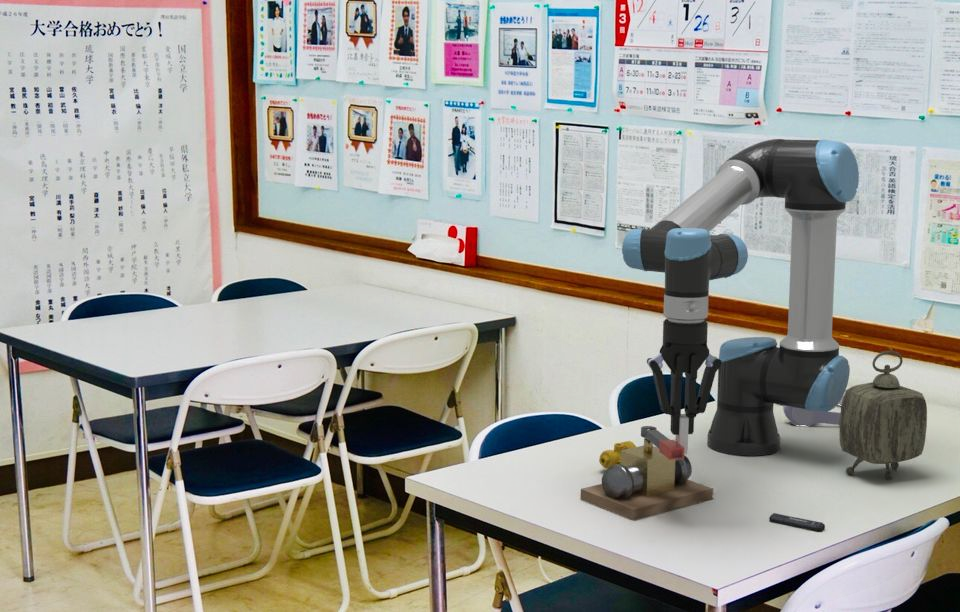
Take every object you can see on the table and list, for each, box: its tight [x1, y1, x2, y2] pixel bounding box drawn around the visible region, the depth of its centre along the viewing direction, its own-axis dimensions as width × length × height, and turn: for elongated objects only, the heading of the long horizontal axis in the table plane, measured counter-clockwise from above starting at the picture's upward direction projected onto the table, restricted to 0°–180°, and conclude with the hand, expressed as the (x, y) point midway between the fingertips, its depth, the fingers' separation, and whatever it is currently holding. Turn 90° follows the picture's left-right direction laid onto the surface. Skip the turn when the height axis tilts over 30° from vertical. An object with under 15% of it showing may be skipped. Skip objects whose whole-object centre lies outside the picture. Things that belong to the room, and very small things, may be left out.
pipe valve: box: [601, 437, 693, 499], centre depth 224 cm, size 18×7×10 cm, turn 127°
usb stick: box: [768, 512, 826, 533], centre depth 212 cm, size 10×3×2 cm, turn 55°
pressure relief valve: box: [598, 440, 637, 470], centre depth 241 cm, size 6×12×10 cm
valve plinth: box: [580, 479, 714, 521], centre depth 225 cm, size 20×14×2 cm
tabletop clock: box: [838, 350, 928, 481], centre depth 238 cm, size 14×9×25 cm, turn 111°
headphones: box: [783, 397, 843, 427], centre depth 285 cm, size 22×7×20 cm
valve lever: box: [640, 425, 685, 460], centre depth 217 cm, size 15×3×2 cm, turn 12°
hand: (681, 452), depth 214 cm, fingers closed
